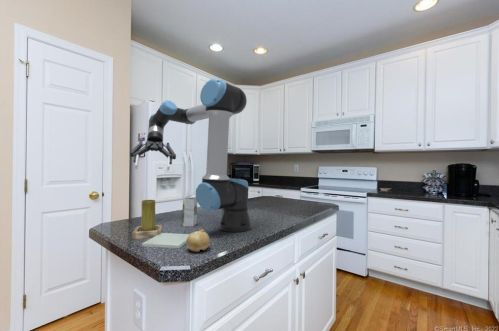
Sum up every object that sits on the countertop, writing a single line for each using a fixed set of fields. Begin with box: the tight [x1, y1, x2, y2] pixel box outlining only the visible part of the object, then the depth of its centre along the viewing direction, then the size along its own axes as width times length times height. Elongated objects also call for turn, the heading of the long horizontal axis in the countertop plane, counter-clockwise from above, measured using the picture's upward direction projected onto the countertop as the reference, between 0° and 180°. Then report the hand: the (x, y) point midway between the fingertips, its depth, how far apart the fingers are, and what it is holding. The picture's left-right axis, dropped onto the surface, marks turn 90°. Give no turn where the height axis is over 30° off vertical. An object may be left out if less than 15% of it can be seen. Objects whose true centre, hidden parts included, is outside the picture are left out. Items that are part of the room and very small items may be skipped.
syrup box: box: [181, 194, 198, 228], centre depth 116 cm, size 6×6×14 cm
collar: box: [131, 224, 163, 240], centre depth 99 cm, size 10×10×2 cm
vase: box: [140, 199, 156, 231], centre depth 99 cm, size 6×6×14 cm
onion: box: [185, 227, 211, 253], centre depth 82 cm, size 8×8×7 cm
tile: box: [141, 232, 191, 249], centre depth 91 cm, size 14×14×1 cm
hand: (152, 167), depth 108 cm, fingers open, 13 cm apart
